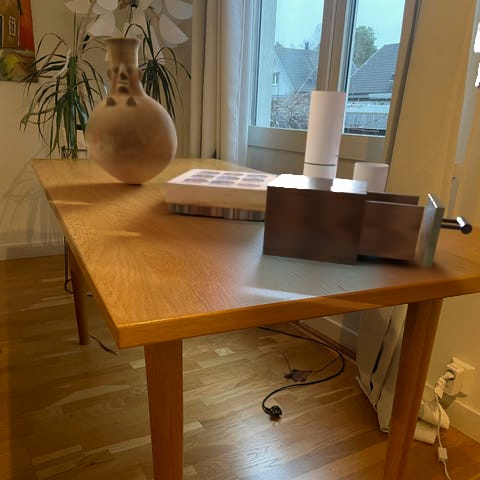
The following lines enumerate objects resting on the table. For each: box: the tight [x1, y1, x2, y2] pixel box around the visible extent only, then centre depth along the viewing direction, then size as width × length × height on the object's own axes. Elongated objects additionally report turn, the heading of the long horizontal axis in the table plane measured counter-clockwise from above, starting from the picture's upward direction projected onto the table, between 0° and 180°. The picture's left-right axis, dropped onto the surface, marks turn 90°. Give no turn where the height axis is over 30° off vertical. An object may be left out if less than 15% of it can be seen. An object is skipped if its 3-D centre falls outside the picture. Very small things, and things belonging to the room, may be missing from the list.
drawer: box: [357, 191, 473, 268], centre depth 76 cm, size 19×12×9 cm, turn 75°
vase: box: [84, 36, 178, 185], centre depth 125 cm, size 24×24×35 cm
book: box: [164, 168, 279, 222], centre depth 110 cm, size 25×6×28 cm
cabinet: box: [262, 174, 368, 266], centre depth 80 cm, size 15×13×11 cm
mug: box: [352, 161, 390, 193], centre depth 101 cm, size 10×7×12 cm, turn 161°
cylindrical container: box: [302, 90, 347, 179], centre depth 104 cm, size 7×7×25 cm
